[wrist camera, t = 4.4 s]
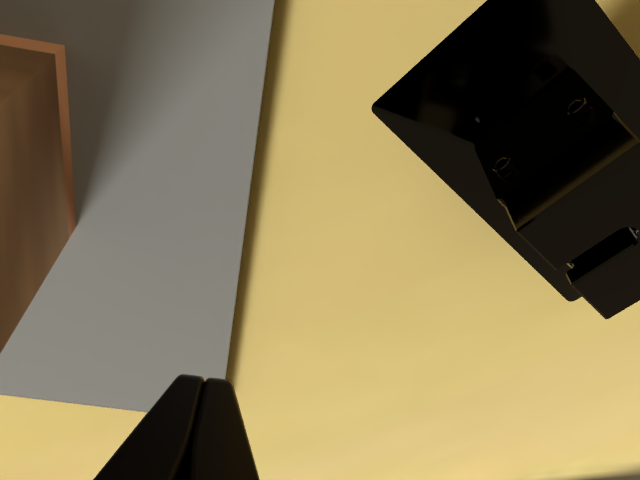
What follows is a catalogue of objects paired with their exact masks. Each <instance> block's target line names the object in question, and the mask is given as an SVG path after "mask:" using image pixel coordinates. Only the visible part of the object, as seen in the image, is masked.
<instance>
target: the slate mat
mask: <svg viewBox="0 0 640 480" xmlns="http://www.w3.org/2000/svg"><path fill="white" fill-rule="evenodd" d="M274 7H275V0H0V34H3V35H9V36H14V37H20V38H26V39H31V40H37V41H43V42H49V43H54V44H60V45H65V57H66V72H67V88H68V103H69V119H70V134H71V150H72V165H73V181H74V196H75V212H76V228H75V230H74V232H73V233H72V235H71V237H70V238H69V240H68V242H67V243H66V245H65V247H64V248H63V250H62V252H61V253H60V255H59V257H58V258H57V260H56V262H55V263H54V265H53V267H52V268H51V270H50V272H49V273H48V275H47V277H46V278H45V280H44V282H43V283H42V285H41V287H40V288H39V290H38V292H37V293H36V295H35V297H34V298H33V300H32V302H31V303H30V305H29V307H28V308H27V310H26V312H25V313H24V315H23V317H22V318H21V320H20V322H19V323H18V325H17V327H16V328H15V330H14V332H13V333H12V335H11V337H10V338H9V340H8V342H7V343H6V345H5V347H4V348H3V350H2V352H1V353H0V395H7V396H15V397H24V398H32V399H40V400H49V401H57V402H65V403H73V404H82V405H90V406H98V407H107V408H115V409H123V410H132V411H140V412H149V410H150V409H151V408H152V407H153V406H154V404H155V403H156V402H157V401H158V399H159V398H160V397H161V396H162V394H163V393H164V392H165V391H166V390H167V388H168V387H169V386H170V385H171V383H172V382H173V381H174V380H175V379H176V377H178V376H179V375H181V374H188V375H196V376H202V377H203V378H204V379H205V381H206V379H207V378H210V377H212V378H220V379H226V374H227V366H228V358H229V351H230V343H231V335H232V328H233V320H234V312H235V305H236V297H237V290H238V282H239V274H240V267H241V259H242V251H243V244H244V236H245V228H246V221H247V213H248V206H249V198H250V190H251V183H252V175H253V167H254V160H255V152H256V144H257V137H258V129H259V122H260V114H261V106H262V99H263V91H264V83H265V76H266V68H267V60H268V53H269V45H270V37H271V30H272V22H273V15H274Z"/></svg>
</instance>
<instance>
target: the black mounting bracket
mask: <svg viewBox="0 0 640 480" xmlns="http://www.w3.org/2000/svg"><path fill="white" fill-rule="evenodd" d="M372 112H373V113H374V114H375V115H376V116H377V117H378V118H379V119H380V120H381V121H382V122H383V123H384V124H385V125H386V126H387V127H388V128H389V129H390V130H391V131H392V132H393V133H395V134H396V135H397V136H398V137H399V138H400V139H401V140H402V141H403V142H404V143H405V144H406V145H407V146H408V147H409V148H410V149H411V150H412V151H413V152H414V153H415V154H416V155H417V156H418V157H419V158H420V159H421V160H422V161H423V162H425V163H426V164H427V165H428V166H429V167H430V168H431V169H432V170H433V171H434V172H435V173H436V174H437V175H438V176H439V177H440V178H441V179H442V180H443V181H444V182H445V183H446V184H447V185H448V186H449V187H450V188H451V189H452V190H454V191H455V192H456V193H457V194H458V195H459V196H460V197H461V198H462V199H463V200H464V201H465V202H466V203H467V204H468V205H469V206H470V207H471V208H472V209H473V210H474V211H475V212H476V213H477V214H478V215H479V216H480V217H481V218H483V219H484V220H485V221H486V222H487V223H488V224H489V225H490V226H491V227H492V228H493V229H494V230H495V231H496V232H497V233H498V234H499V235H500V236H501V237H502V238H503V239H504V240H505V241H506V242H507V243H508V244H509V245H510V246H511V247H513V248H514V249H515V250H516V251H517V252H518V253H519V254H520V255H521V256H522V257H523V258H524V259H525V260H526V261H527V262H528V263H529V264H530V265H531V266H532V267H533V268H534V269H535V270H536V271H537V272H538V273H539V274H540V275H542V276H543V277H544V278H545V279H546V280H547V281H548V282H549V283H550V284H551V285H552V286H553V287H554V288H555V289H556V290H557V291H558V292H559V293H560V294H561V295H562V296H563V297H564V298H565V299H566V300H568V301H575V300H577V299H578V298H580V297H583V298H584V299H585V300H586V301H587V302H588V303H590V304H591V305H592V306H593V307H594V308H595V309H596V310H597V311H598V312H599V313H600V314H601V315H602V316H603V317H604V318H605V319H609V318H611V317H612V316H614V315H616V314H617V313H619V312H621V311H622V310H624V309H626V308H627V307H629V306H631V305H632V304H634V303H636V302H638V301H639V300H640V59H639V58H638V57H637V55H636V54H635V53H634V51H633V50H632V49H631V47H630V46H629V45H628V44H627V42H626V41H625V40H624V38H623V37H622V36H621V34H620V33H619V32H618V30H617V29H616V28H615V26H614V25H613V24H612V22H611V21H610V20H609V18H608V17H607V16H606V14H605V13H604V12H603V10H602V9H601V8H600V6H599V5H598V4H597V2H596V1H595V0H487V1H486V2H485V3H484V4H483V5H481V6H480V7H479V8H478V9H477V10H476V11H475V12H474V13H473V14H472V15H470V16H469V17H468V18H467V19H466V20H465V21H464V22H463V23H462V24H461V25H459V26H458V27H457V28H456V29H455V30H454V31H453V32H452V33H451V34H449V35H448V36H447V37H446V38H445V39H444V40H443V41H442V42H441V43H440V44H438V45H437V46H436V47H435V48H434V49H433V50H432V51H431V52H430V53H429V54H427V55H426V56H425V57H424V58H423V59H422V60H421V61H420V62H419V63H418V64H416V65H415V66H414V67H413V68H412V69H411V70H410V71H409V72H408V73H407V74H405V75H404V76H403V77H402V78H401V79H400V80H399V81H398V82H397V83H396V84H394V85H393V86H392V87H391V88H390V89H389V90H388V91H387V92H386V93H385V94H383V95H382V96H381V97H380V98H379V99H378V100H377V101H376V102H375V103H374V104H373V105H372Z"/></svg>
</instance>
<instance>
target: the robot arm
mask: <svg viewBox="0 0 640 480" xmlns="http://www.w3.org/2000/svg"><path fill="white" fill-rule="evenodd" d="M93 480H260V479H259V476H258V472H257V469H256V465H255V462H254V458H253V454H252V451H251V447H250V444H249V440H248V437H247V433H246V429H245V426H244V422H243V419H242V415H241V412H240V408H239V404H238V401H237V397H236V394H235V390H234V387H233V384H232V382H231V381H230V380H228V379H220V378H212V377H210V378H207V379H206V381H205V379H204V378H203V377H202V376H196V375H188V374H181V375H179V376H178V377H176V379H175V380H174V381H173V382H172V383H171V385H170V386H169V387H168V388H167V390H166V391H165V392H164V393H163V394H162V396H161V397H160V398H159V399H158V401H157V402H156V403H155V404H154V406H153V407H152V408H151V409H150V410H149V412H148V413H147V414H146V415H145V417H144V418H143V419H142V420H141V421H140V423H139V424H138V425H137V426H136V428H135V429H134V430H133V431H132V433H131V434H130V435H129V436H128V437H127V439H126V440H125V441H124V442H123V444H122V445H121V446H120V447H119V448H118V450H117V451H116V452H115V453H114V455H113V456H112V457H111V458H110V460H109V461H108V462H107V463H106V464H105V466H104V467H103V468H102V469H101V471H100V472H99V473H98V474H97V476H96V477H95V478H94V479H93Z"/></svg>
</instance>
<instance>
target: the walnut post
mask: <svg viewBox="0 0 640 480" xmlns="http://www.w3.org/2000/svg"><path fill="white" fill-rule="evenodd" d="M75 228H76V212H75V196H74V181H73V165H72V150H71V134H70V119H69V103H68V88H67V72H66V57H65V45H60V44H54V43H49V42H43V41H37V40H31V39H26V38H20V37H14V36H9V35H3V34H0V353H1V352H2V350H3V348H4V347H5V345H6V343H7V342H8V340H9V338H10V337H11V335H12V333H13V332H14V330H15V328H16V327H17V325H18V323H19V322H20V320H21V318H22V317H23V315H24V313H25V312H26V310H27V308H28V307H29V305H30V303H31V302H32V300H33V298H34V297H35V295H36V293H37V292H38V290H39V288H40V287H41V285H42V283H43V282H44V280H45V278H46V277H47V275H48V273H49V272H50V270H51V268H52V267H53V265H54V263H55V262H56V260H57V258H58V257H59V255H60V253H61V252H62V250H63V248H64V247H65V245H66V243H67V242H68V240H69V238H70V237H71V235H72V233H73V232H74V230H75Z"/></svg>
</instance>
